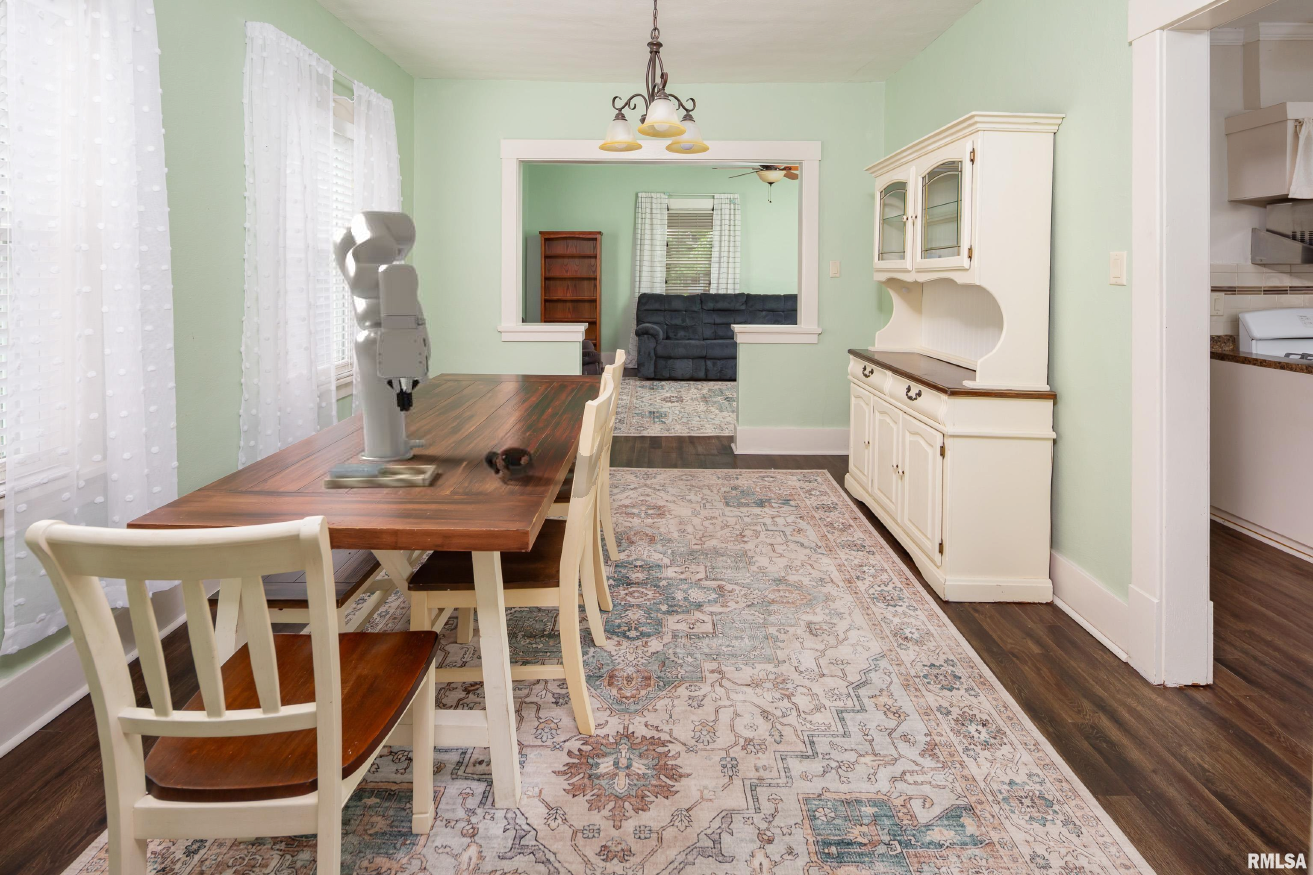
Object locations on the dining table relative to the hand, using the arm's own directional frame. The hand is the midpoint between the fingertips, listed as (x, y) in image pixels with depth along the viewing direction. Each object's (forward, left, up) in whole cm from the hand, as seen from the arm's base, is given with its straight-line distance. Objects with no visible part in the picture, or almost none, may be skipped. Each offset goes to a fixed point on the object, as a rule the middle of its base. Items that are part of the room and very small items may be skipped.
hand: (405, 410), depth 174 cm
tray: (+5, -3, -16) cm, 17 cm away
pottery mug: (-20, +8, -16) cm, 27 cm away
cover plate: (+9, -5, -15) cm, 19 cm away
